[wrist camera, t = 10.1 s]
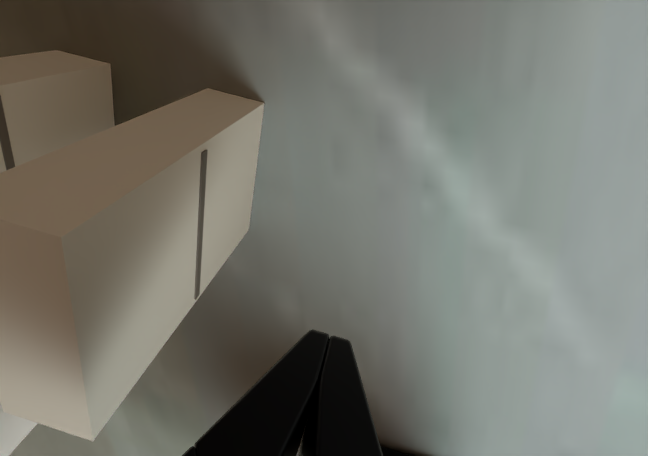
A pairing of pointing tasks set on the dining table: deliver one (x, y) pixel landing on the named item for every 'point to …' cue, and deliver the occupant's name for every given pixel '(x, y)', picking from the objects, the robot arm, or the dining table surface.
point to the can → (12, 431)
